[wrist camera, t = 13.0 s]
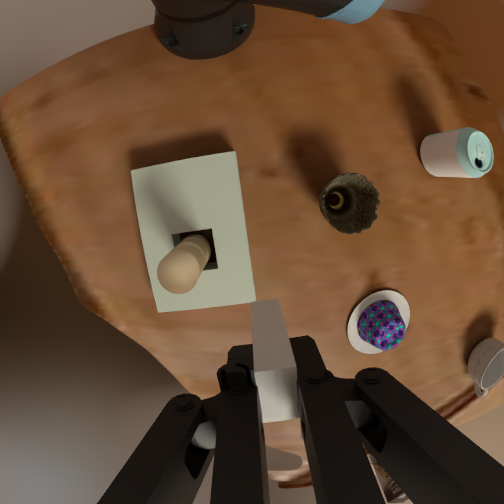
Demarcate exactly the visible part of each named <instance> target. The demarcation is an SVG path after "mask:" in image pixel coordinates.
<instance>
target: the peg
mask: <svg viewBox="0 0 504 504" xmlns="http://www.w3.org/2000/svg"><path fill="white" fill-rule="evenodd" d="M210 255H211V245H210V242H209V240H208V239H207V238H206V237H205V236H203V235H200V234H192V235H189V236H187V237H186V238H184V239H183V240H182V241H181V242H180V243H179V244H178V245H177V246H176V247H175V248H174V249H173V250H171V251H170V252H169V253H168V254H167V255H166V256H165V257H164V258H163V259H162V260H161V261H160V263H159V264H158V267H157V277H158V280H159V282H160V284H161V285H162V287H163V288H164V289H166V290H167V291H169V292H171V293H173V294H184V293H187V292H189V291H190V290H192V289H193V288H194V286H195V285H196V283H197V281H198V279H199V277H200V275H201V273H202V271H203V269H204V267H205V265H206V263H207V262H208V260H209V258H210Z"/></svg>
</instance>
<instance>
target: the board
mask: <svg viewBox="0 0 504 504" xmlns="http://www.w3.org/2000/svg"><path fill="white" fill-rule="evenodd" d="M131 176H132V183H133V190H134V197H135V203H136V210H137V216H138V221H139V227H140V233H141V238H142V243H143V248H144V253H145V258H146V263H147V267H148V272H149V276H150V281H151V285H152V289H153V293H154V298H155V302H156V306H157V309H158V312H169V311H180V310H190V309H199V308H209V307H217V306H226V305H234V304H242V303H250V302H254V301H256V294H255V286H254V279H253V272H252V264H251V257H250V250H249V243H248V236H247V228H246V221H245V214H244V206H243V199H242V192H241V185H240V177H239V170H238V163H237V155H236V152H235V151H232V152H225V153H219V154H212V155H206V156H200V157H195V158H189V159H184V160H178V161H173V162H168V163H163V164H158V165H154V166H149V167H144V168H140V169H136V170H131ZM210 228H212V232H213V239H214V245H215V251H216V257H217V262H210V263H206V265H205V267H204V269H203V271H202V273H201V275H200V277H199V279H198V281H197V283H196V285H195V286H194V288H193V289H192V290H190V291H189V292H187V293H184V294H173V293H171V292H169V291H167V290H166V289H164V288H163V287H162V285H161V284H160V282H159V280H158V277H157V267H158V264H159V263H160V261H161V260H162V259H163V258H164V257H165V256H166V255H167V254H168V253H169V252H170V251H171V250H173V249H174V248H175V247H176V246H177V245H178V244H179V243H180V237H179V233H183V232H190V231H197V230H203V229H210Z"/></svg>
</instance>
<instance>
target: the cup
mask: <svg viewBox="0 0 504 504" xmlns="http://www.w3.org/2000/svg"><path fill="white" fill-rule="evenodd" d="M373 184H374V183H373V182H371V181H367V178H366V177H365V176H363V175H360V174H359V173H349V172H347V173H345V174H342V175H339V176H337V177H335V178H333V179H331V180H330V181H328V182H327V183H326V184H325V185H324V187H323V188H322V190H321V192H320V195H319V207H320V210H321V212H322V214H323V216H324V217H325V219H326V220H327V221H328V222H329V223H330V224H331V226H332V227H333V228H336V229H337V230H338V231H340V232H342V233H346V234H352V233H353V232H355V233H361V230H366V229H368V228H370V227H371V226H372V224H373V221H374V220H376V219H377V215H376V214H375V211H376V210H377V205H378V204H380V201H379V200H378V198H379V195H380V194H379V192H378V191H377V190H376V189H375V188H374V187H373ZM333 194H336V195H338V196H339V199H340V201H339V203H338V204H337V205H335V206H334V205H331V204H330V202H329V197H330V196H331V195H333Z"/></svg>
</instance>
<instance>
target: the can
mask: <svg viewBox="0 0 504 504" xmlns="http://www.w3.org/2000/svg"><path fill="white" fill-rule="evenodd" d="M420 156H421V160H422V163H423V165H424V167H425V169H426V170H427V171H428V172H429V173H430V174H432V175H434V176H437V177H468V178H478V177H481V176H482V175H484V174H485V173H487V172H488V171H489V170H490V169H491V167H492V164H493V149H492V145H491V143H490V141H489V139H488V138H487V136H486V135H485V134H484V133H482V132H480V131H477V130H476V129H474V128H470V127H467V128H461V129H456V130H451V131H445V132H440V133H435V134H430V135H428V136H426V137H425V138H424V140H423V141H422V143H421V147H420Z"/></svg>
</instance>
